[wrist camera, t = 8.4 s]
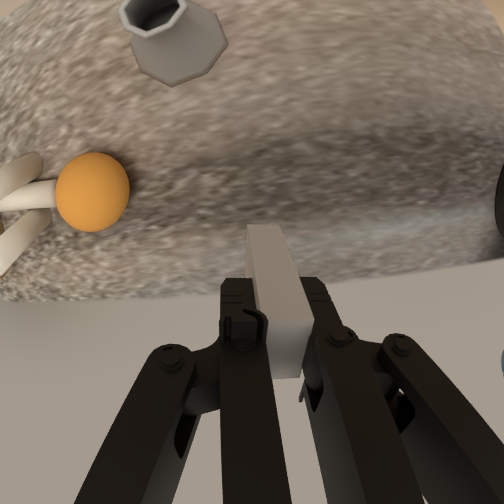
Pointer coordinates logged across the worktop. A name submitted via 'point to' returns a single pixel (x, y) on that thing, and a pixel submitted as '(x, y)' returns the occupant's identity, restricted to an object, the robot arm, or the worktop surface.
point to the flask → (172, 38)
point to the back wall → (1, 231)
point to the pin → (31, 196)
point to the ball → (92, 192)
